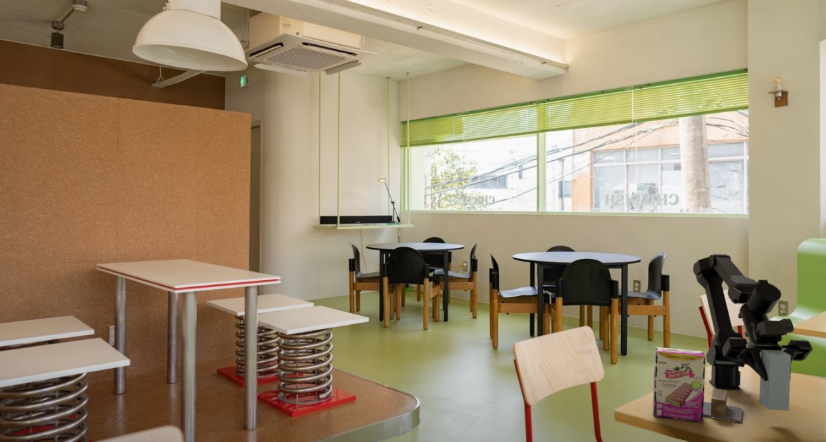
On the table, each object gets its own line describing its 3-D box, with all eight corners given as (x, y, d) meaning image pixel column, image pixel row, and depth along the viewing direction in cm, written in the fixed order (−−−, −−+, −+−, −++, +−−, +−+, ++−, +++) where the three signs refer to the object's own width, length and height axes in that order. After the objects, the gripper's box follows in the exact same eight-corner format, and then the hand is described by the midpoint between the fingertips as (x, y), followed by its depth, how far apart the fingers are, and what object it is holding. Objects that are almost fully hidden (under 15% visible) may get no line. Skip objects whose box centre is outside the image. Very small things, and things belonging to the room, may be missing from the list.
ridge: (710, 414, 142) (711, 398, 142) (713, 403, 149) (713, 388, 149) (724, 417, 140) (725, 400, 140) (726, 405, 148) (726, 390, 148)
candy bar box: (653, 417, 141) (655, 351, 141) (652, 410, 146) (653, 346, 145) (704, 423, 138) (706, 355, 137) (701, 416, 142) (703, 350, 142)
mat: (694, 414, 143) (694, 412, 143) (698, 403, 152) (698, 400, 152) (741, 423, 138) (741, 420, 138) (742, 410, 147) (742, 407, 147)
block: (768, 409, 136) (770, 354, 135) (759, 402, 140) (761, 349, 140) (788, 410, 135) (790, 355, 135) (779, 403, 140) (780, 350, 139)
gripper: (728, 305, 142) (747, 362, 132) (810, 307, 140) (836, 365, 129) (714, 329, 150) (731, 385, 140) (791, 332, 148) (814, 388, 137)
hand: (777, 380), depth 136 cm, fingers closed on block, 4 cm apart
